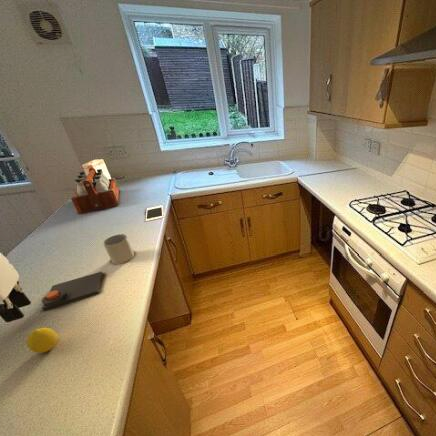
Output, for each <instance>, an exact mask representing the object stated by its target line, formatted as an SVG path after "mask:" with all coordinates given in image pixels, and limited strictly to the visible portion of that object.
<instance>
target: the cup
mask: <svg viewBox="0 0 436 436" xmlns="http://www.w3.org/2000/svg"><path fill="white" fill-rule="evenodd" d="M102 245H103V247H104V249H105V251H106V253H107V255H108V257H109V259H110V261H111V263H112V264H115V265H118V264H119V265H120V264H123V263H127V262H128V261H130V260H131V259H133V258H134V256H135V253H134V250H133V247H132V246H131V243H130V240H129V238H128V236H127V234H124V233H121V234H115V235H112V236H109V237H107V238H106V239H104V240H103V242H102Z"/></svg>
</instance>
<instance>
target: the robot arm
mask: <svg viewBox="0 0 436 436" xmlns="http://www.w3.org/2000/svg"><path fill="white" fill-rule="evenodd" d="M19 280H20V275H19V273H18V271H17V270H16V268H15V267H14V266H13V264H12V263H11V262H10V260H8V259H7V258H6V256H5V255H3V253H2V252H0V302H2V303H0V317H1V319H2V320H3V321H4V322H5V323H11V322H13V321H16V320H20V319H23V318H24V317H25V314H24V312H23V311H22V310H21V309H20V308H24V307H27V306H30V305H31V303H32V301H31V300H30V299H29V298H28V296H27V295H26V294H25V292H24V290H23V288H22V287H21V286H20V282H19Z"/></svg>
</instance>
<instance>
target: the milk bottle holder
mask: <svg viewBox="0 0 436 436" xmlns="http://www.w3.org/2000/svg"><path fill="white" fill-rule="evenodd" d="M78 173H79V174H78V175H76V177H77V178H76V179H74V181H75V184H76V191H75V192H74V194H73V195H72V196H71V198H70V200H71V202H72V204H73V206H74V208H75V210H76V212H77V213H78V214H83V213H84V214H85V213H88V212H92V211H93V212H96V211H100V210H105V209H108V208H112V207H116V206H117V207H118V206H119V204H120V203H119V194H120V189H119V186H118V184H117V181H116V179H115V178H112V177H111V179H108V178H107V177H106V176H105V175H104V174H103V171H102V169H97V172H96V170H95V169H94V168H90V169H89V174H88V176H87V175H86V173H85V171H80V172H78ZM92 179H93V182H92Z"/></svg>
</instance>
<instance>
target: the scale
mask: <svg viewBox="0 0 436 436" xmlns="http://www.w3.org/2000/svg"><path fill="white" fill-rule="evenodd" d="M103 275H104V273H103V271H99V272H94V273H91V274H87V275H85V276H81V277H77V278H73V279H71V280H67V281H64V282H61V283H57V284H54V285H52V286H51V288H50V291H49V292H51V291H55V290H56V291H58V293H59V294H60V295H59V296H58V297H57V298H55V299H53V300H48V299H47V297H46V295H44V296H43V298H42V299H41V301H40V302H41V303H42V307H41V309H42V311H44V312H45V311H48V310H51V309H54V308H57V307H60V306H63V305H66V304H70V303H73V302H76V301H80V300H82V299H85V298H88V297H91V296H94V295H95V296H96V295H97V294H99V293H100V288H101V284H102V279H103Z"/></svg>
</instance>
